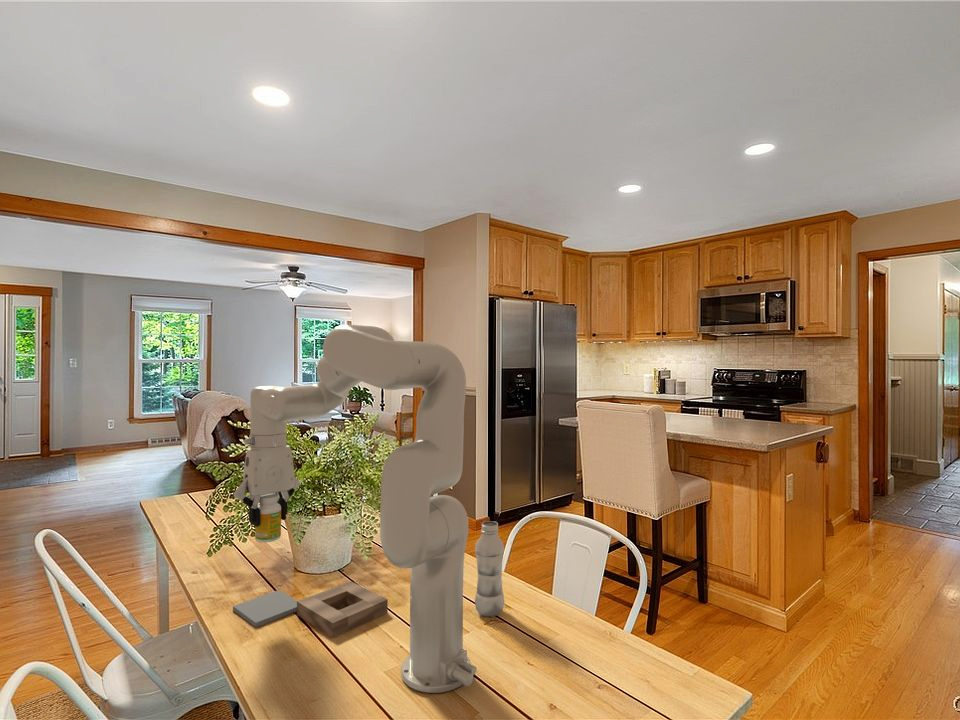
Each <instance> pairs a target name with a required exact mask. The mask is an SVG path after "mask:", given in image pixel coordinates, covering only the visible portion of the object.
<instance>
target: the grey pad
mask: <svg viewBox="0 0 960 720" xmlns="http://www.w3.org/2000/svg"><path fill="white" fill-rule="evenodd" d="M297 601H298V600H297V599H296V598H293V597H292V596H290V595H289V594H287V593H286V592H284V591H282V590H280V589H278V590H275V591H271V592H269V593H267V594H264V595H261V596H258V597H255V598H252V599H249V600H245V601H244V602H241V603H238V604H234V605H232V611H233V612H234V613H236V614H237V615H238V616H240V617H241V618H242V619H244V620H245V621H246V622H248V623H249V624H251V626H253V627H254V628H258V627H260V626H263V625H265V624H269V623H271V622H274V621H276V620H279V619H280V618H284V617H286V616H289V615H291V613H292V614H294V613H297V612H296V611H297ZM293 612H294V613H293Z"/></svg>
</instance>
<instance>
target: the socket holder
mask: <svg viewBox="0 0 960 720" xmlns="http://www.w3.org/2000/svg"><path fill="white" fill-rule="evenodd" d="M388 603H389V602H388V598H385V597H384V596H382V595H380V594H378V593H376V592H373V590H372V591H371V590H370V589H368V588H365V587H363V586H361V585H359V584H357V583H355V582H353V581H347V582H345V583H342V584H339V585H338V586H335V587H331V588H329V589H326V590H324V591H321V592H318V593H316V594H313V595H310V596H307V597H305V598H302V599H300V600H297V612H296V616H297V617H299V618H301V619H302V618H303V619H302V620H304V621H305V622H307V623H309V624H310V625H312V626H313V627H315V628H317V629H318V630H320V631H322V632H323V633H325V635H328V636H329V637H331V639H332V638H335V637H338V636H340V635H343V634H344V633H346V632H349V631H351V630H354V629H355V628H358V627H361V625H364V624H366V623H368V622H371V621H372V620H374V619H377V618H379V617H382V616H384V615H386V614H388V613H389V611H388V607H389V606H388V605H389V604H388ZM345 605H347V606H345ZM343 606H345V607H344V608H341V609H339V610H338V608H340V607H343Z"/></svg>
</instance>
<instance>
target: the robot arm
mask: <svg viewBox="0 0 960 720" xmlns="http://www.w3.org/2000/svg"><path fill="white" fill-rule="evenodd" d="M322 354H323V356H322V357H320V359H319V360H318V362H317V365H316V375H317V377H318V380H319V381H318V382H316V383H315V384H307V385H293V386H292V385H290V386H281V385H279V386H278V385H262V386H256V387H253V388H252V389H251V391H250V403H249V404H250V406H249V407H250V414H249V415H250V420H249V421H250V427H249V429H250V430H249V431H250V434H249V437H248V438H245V439H244V441H243V442H244V445H246V446H248V448H247V450H246V455H245V459H244V466H243V478H242V482H241V483H240V485H239V486H238V487H237V489H236V490H235V491H234V492H233V497H235V498H236V499H238V500H239V501H240V502H242V503H243V504H245V506H246V507H248V522H249V524H250V525H251V526H254V527H255V526H256V527H258V526H259V525H260V508H258V505H259V504H260V503H259V500H260V497H261V496H262V495H267V494H272V493H273V494H277V495H278V502H277V503H278V504H280V505H281V521H282V520H283V521H285V520H287V515H288V502H289V501H290V500H291V499H290V498H291V497H292V495H293V494H294V493H295V491H296V490H297V489H298V488H299V486H301V481H300V480H299V479H298V478H297V477H296V476H295V467H294V460H293V453H292V452H293V451H292V449H291V445H288V444H287V423H289V422H296V421H301V420H302V421H303V420H311V419H317V418H320V417H323V416H325V415H327V414H329V413H331V412H332V411H333V410H334V409H337V408H338V407H340V406H341V405H342V404H344V402H345V401H346V399H347V398H348V395H349V393H350V390H351V389H352V388H354V387H356V386H358V384H360V383H361V382H362V383H364V384H368V385H370V386H373V387H375V388H378V389H383V390H387V391H388V390H389V391H395V390H397V391H398V390H407V389H408V390H409V389H417V388H422V389H423V390H424V393H423V396H422V397H421V400H420V401H419V402H420V403H419V405H418V408H417V413H416V430H415V431H416V432H415V438H414V441H413V442H409V443H405V444H403V445H400V446H398V447H396V448H395V449H394V450H392V452H391V453H390V454H388V456H387V458H386V460H385V462H384V465H383V467H382V471H381V477H380V479H381V482H380V505H379V506H380V508H379V509H380V510H379V513H380V515H379V539H380V545H381V548H382V551H383V553H384V556H385V557H386V559H387V560H388V562H389V563H390V564H391V565H394V566H395V567H396V568H399V569H410V583H409V584H410V586H409V589H410V591H409V603H410V604H409V607H410V608H409V655H408V656H406V658H405V659H404V661H402V664H401V669H400V670H401V679H402V680H403V682H404V683H405V684H406V685H407V686H408V687H410V688H411V689H413V690H415V691H418V692H420V693H421V692H422V693H429V694H439V693H445V692H450V691H452V690H455V689H457V688H460V687H461V686H465V687H470V686H471V685H472V683H473V681H474V675H476V673H477V667H476V666H475V665H473V664H472V663H471V659H470V658H469V656H468V651H467V650H466V649H465V648H464V644H463V643H464V640H463V639H464V637H463V636H464V625H463V624H464V568H465V567H464V566H465V565H464V563H465V555H466V553H465V552H466V548H467V541H468V537H469V536H468V534H469V517H468V513H467V511H466V509H465V507H464V505H463V504H462V502H461V501H459V499H457V498H455V497H454V496H451V495H446V494H439V493H441V492H444V491H447V490H448V489H450V488H452V487H454V486H455V485H456V484H458V482H459V481H460V479H461V477H462V475H463V467H464V464H463V463H464V438H465V437H464V435H465V433H464V431H465V429H464V428H465V426H464V425H465V424H464V423H465V422H464V420H465V419H464V418H465V417H464V416H465V404H466V393H467V378H466V372H465V368H464V366H463V363H462V362H461V360H460V359H459V357H458V356H457V355H456V353H454V351H452V350H451V349H449V348H447V347H446V346H443V345H441V344H439V343H434V342H430V341H419V340H418V341H415V340H414V341H410V340H409V341H407V340H406V341H405V340H395V339H394V337H393V336H392V334H391V333H389V331H387V330H386V329H384V328H382V327H377V326H373V325H358V324H341V325H338V326H336V327H334V328H333V329H331V330H330V331H329V332H328V333H327V335H326V337H325V339H324V340H323V344H322ZM245 493H248V494H249V495H248V496H247V495H246V494H245ZM436 494H439V495H436Z"/></svg>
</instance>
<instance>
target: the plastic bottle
mask: <svg viewBox="0 0 960 720" xmlns="http://www.w3.org/2000/svg"><path fill="white" fill-rule="evenodd" d="M480 533H481V535H480V537H479V538H478V539H477V541H476V542H475V545H474V546H475V547H474V551H475V557H476V558H475V559H476V568H477V582H476V583H477V584H476V592H475V597H474V598H475V599H474V605H475V610H476V611H477V613H478V614H479V615H481V616H482V617H490V618H491V617H497V616H499V615H500V614H501V613H502V612H503V611H504V608H505V596H504V591H503V581H502V575H503V573H502V572H503V560H504V552H505V546H504V542H503V541H502V539H501V537H500V536H499V535H498V533H499V523H498V522H497V521H494V520H493V521H492V520H491V521H490V520H487V521H483V522H481V530H480Z"/></svg>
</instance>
